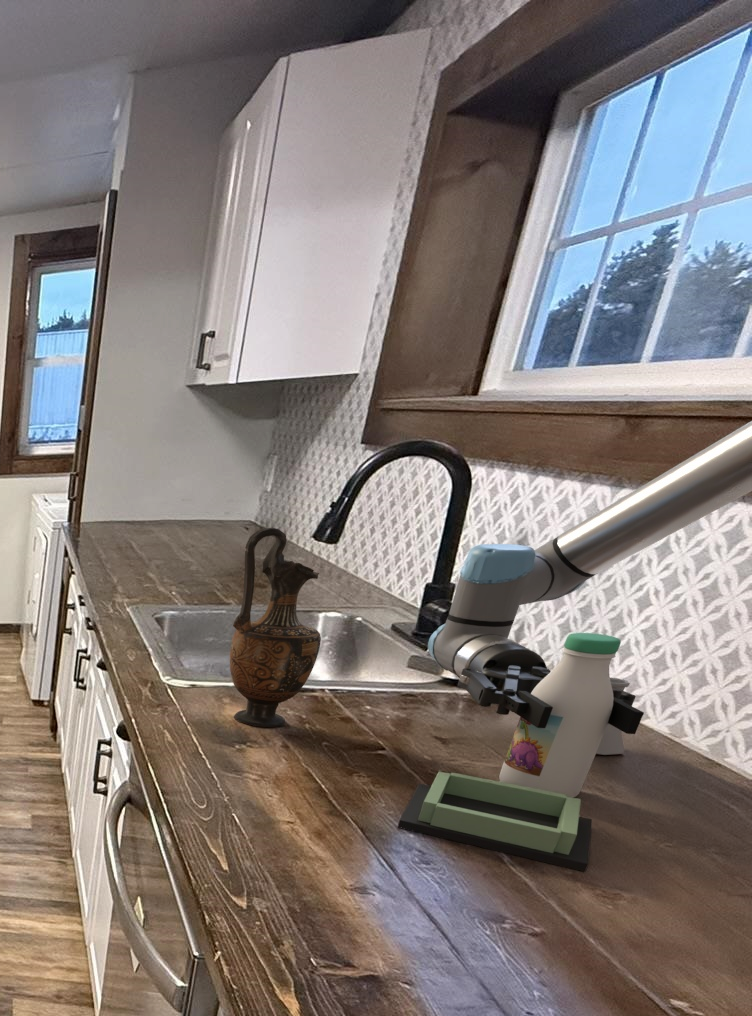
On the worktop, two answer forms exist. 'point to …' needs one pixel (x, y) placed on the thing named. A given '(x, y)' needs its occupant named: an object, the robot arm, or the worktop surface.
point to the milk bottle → (566, 719)
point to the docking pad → (502, 818)
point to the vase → (272, 637)
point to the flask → (613, 729)
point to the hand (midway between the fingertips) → (589, 720)
